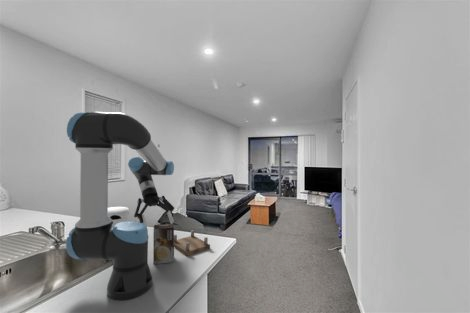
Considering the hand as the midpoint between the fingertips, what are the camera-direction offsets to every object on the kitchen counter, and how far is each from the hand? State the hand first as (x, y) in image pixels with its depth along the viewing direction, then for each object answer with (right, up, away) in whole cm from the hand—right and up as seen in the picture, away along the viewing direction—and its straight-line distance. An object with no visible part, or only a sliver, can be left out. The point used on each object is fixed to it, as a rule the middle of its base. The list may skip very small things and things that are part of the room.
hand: (159, 225), depth 108 cm
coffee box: (+4, -15, -6) cm, 16 cm away
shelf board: (+13, -14, +9) cm, 22 cm away
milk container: (-31, -14, +14) cm, 37 cm away
